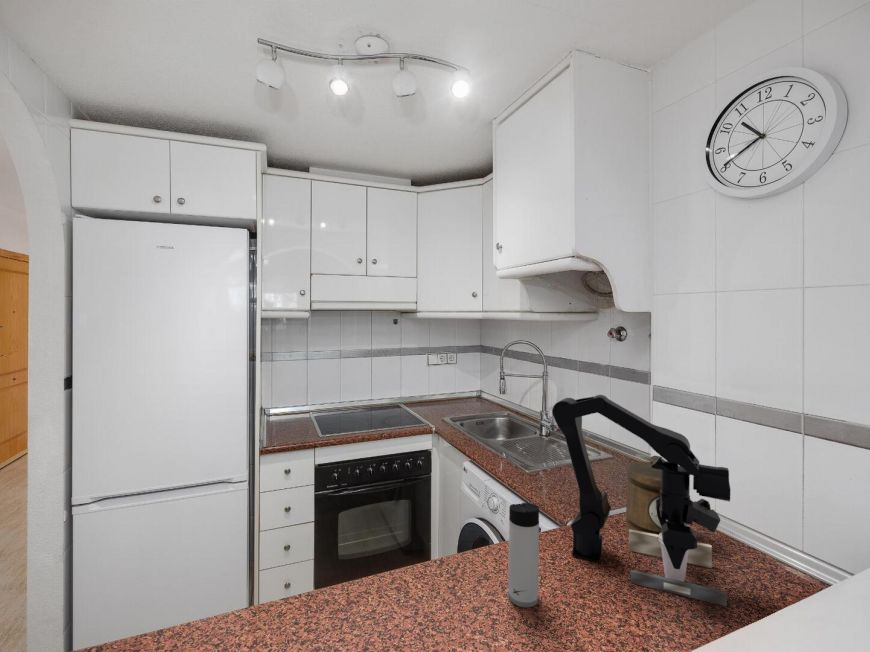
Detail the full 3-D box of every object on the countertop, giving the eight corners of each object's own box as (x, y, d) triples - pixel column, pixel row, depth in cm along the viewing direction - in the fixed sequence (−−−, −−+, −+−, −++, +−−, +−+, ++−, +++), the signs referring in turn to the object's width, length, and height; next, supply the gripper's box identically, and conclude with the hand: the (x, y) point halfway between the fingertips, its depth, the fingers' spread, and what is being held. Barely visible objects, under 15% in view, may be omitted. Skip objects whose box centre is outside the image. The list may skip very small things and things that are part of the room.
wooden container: (664, 555, 103) (665, 468, 103) (614, 528, 117) (615, 452, 116) (698, 541, 110) (699, 460, 110) (648, 517, 123) (648, 445, 123)
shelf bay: (630, 583, 92) (631, 561, 92) (628, 548, 106) (629, 529, 106) (726, 607, 85) (727, 583, 84) (710, 565, 99) (710, 545, 99)
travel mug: (517, 611, 83) (518, 513, 82) (503, 591, 89) (504, 499, 89) (544, 606, 84) (545, 510, 84) (529, 586, 91) (530, 496, 90)
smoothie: (695, 581, 93) (695, 520, 93) (685, 593, 89) (685, 529, 89) (664, 568, 98) (664, 510, 98) (654, 579, 93) (654, 518, 93)
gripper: (727, 514, 82) (726, 591, 82) (708, 481, 99) (707, 545, 99) (663, 503, 86) (662, 577, 86) (656, 474, 103) (655, 535, 103)
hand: (673, 557), depth 93 cm, fingers open, 9 cm apart
